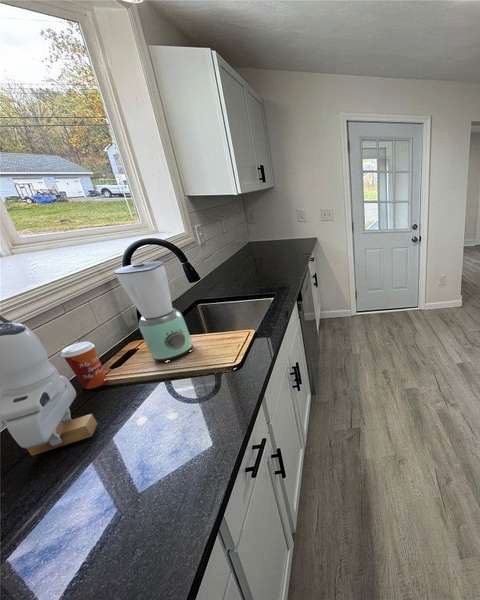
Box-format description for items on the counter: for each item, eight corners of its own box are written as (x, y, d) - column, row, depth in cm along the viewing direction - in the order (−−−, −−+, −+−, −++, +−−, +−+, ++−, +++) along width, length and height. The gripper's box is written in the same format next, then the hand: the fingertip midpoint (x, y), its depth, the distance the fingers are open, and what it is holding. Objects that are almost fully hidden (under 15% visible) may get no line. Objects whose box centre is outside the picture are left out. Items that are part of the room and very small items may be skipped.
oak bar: (31, 456, 74) (23, 445, 73) (40, 441, 78) (33, 431, 77) (91, 436, 79) (85, 425, 77) (97, 423, 83) (92, 413, 81)
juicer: (204, 350, 118) (172, 260, 105) (165, 369, 108) (124, 272, 94) (180, 339, 128) (147, 256, 114) (141, 356, 117) (101, 266, 104)
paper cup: (96, 390, 99) (76, 352, 93) (73, 391, 99) (51, 354, 94) (117, 375, 106) (99, 339, 101) (95, 376, 106) (76, 340, 101)
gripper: (37, 371, 79) (62, 413, 85) (-10, 421, 63) (25, 470, 68) (70, 363, 82) (92, 405, 88) (34, 409, 66) (64, 457, 71)
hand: (63, 434), depth 78 cm, fingers closed on oak bar, 5 cm apart
